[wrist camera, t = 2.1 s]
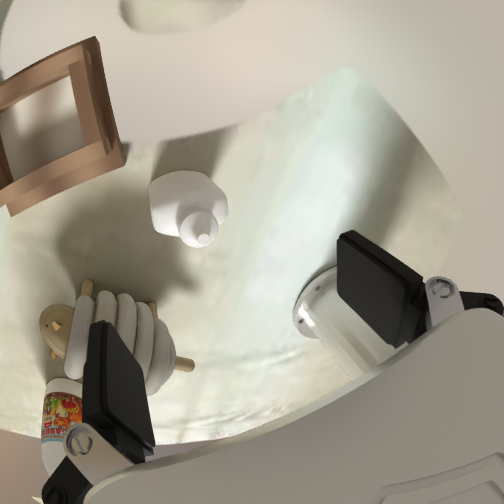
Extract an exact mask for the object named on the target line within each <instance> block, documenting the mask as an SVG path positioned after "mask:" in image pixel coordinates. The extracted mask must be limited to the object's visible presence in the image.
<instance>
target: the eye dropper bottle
mask: <svg viewBox="0 0 504 504" xmlns="http://www.w3.org/2000/svg"><path fill="white" fill-rule="evenodd" d="M149 201H150V210H151V217H152V222H153V226H154V228H155V230H156V231H157V232H159V233H162V234H165V235H170V236H179V237H180V238H181V239H182V241H183V242H184V243H185V244H186V245H188V246H190V247H194V248H200V247H204V246H206V245H208V244H210V243H211V242H212V241H213V240H214V239H215V237H216V235H217V232H218V225H220V224H221V223H222V222H223V221H225V219H226V218H227V215H228V205H227V197H226V195H225V193H224V192H223V191H222V190H221V189H220V188H219V187H218V186H217V185H216V184H215V183H214V182H213V181H212V180H211V179H210V178H209V177H208V176H206V175H205V174H203V173H201V172H196V171H187V170H183V171H175V172H171V173H167V174H165V175H162V176H160V177H158V178H157V179H155V180H154V181H152V182H151V183H150V185H149Z"/></svg>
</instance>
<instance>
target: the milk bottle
mask: <svg viewBox="0 0 504 504" xmlns="http://www.w3.org/2000/svg"><path fill="white" fill-rule="evenodd" d="M76 423H82V384H81V383H79V382H77V381H74V380H71V379H66V378H55V379H52V380H51V381H50V382H49V383H48V384H47V386H46V390H45V397H44V406H43V416H42V431H41V451H42V457H43V461H44V464H45V467H46V469H47V471H48V473H49V476H51V475H52V474H53V472H54V471H55V470H56V468H57V467H58V466H59V464H60V463H61V462H62V460H63V459H64V458H65V456H66V453H65V451H64V448H63V438H64V435H65V433H66V431H67V430H68V428H69V427H71V426H72V425H74V424H76Z"/></svg>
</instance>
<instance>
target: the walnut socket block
mask: <svg viewBox="0 0 504 504" xmlns="http://www.w3.org/2000/svg"><path fill="white" fill-rule="evenodd" d="M125 163H126V160H125V156H124V153H123V149H122V146H121V142H120V138H119V135H118V131H117V127H116V123H115V119H114V115H113V110H112V106H111V102H110V97H109V93H108V88H107V83H106V79H105V73H104V68H103V63H102V57H101V51H100V45H99V42H98V40H97V39H96V37H95V36H93V37H91V38H88V39H86V40H83V41H80V42H78V43H76V44H73V45H71V46H69V47H66V48H64V49H62V50H60V51H57V52H55V53H54V54H51V55H49V56H47V57H45V58H43V59H41V60H39V61H37V62H36V63H34V64H32V65H30V66H28V67H26V68H25V69H23V70H21V71H20V72H18V73H16V74H14V75H13V76H11V77H10V78H8V79H6V80H5V81H3V82H2V83H0V207H2V206H3V205H5V204H6V205H7V208H8V211H9V213H10V216H11V217H13V216H14V215H16V214H18V213H20V212H22V211H24V210H25V209H27V208H29V207H31V206H33V205H35V204H37V203H39V202H41V201H43V200H45V199H47V198H49V197H51V196H54V195H56V194H58V193H60V192H62V191H64V190H67V189H69V188H71V187H73V186H76V185H78V184H80V183H83V182H85V181H87V180H90V179H92V178H95V177H97V176H100V175H102V174H105V173H107V172H110V171H113V170H115V169H118V168H121V167H123V166H124V165H125Z"/></svg>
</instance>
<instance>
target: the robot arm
mask: <svg viewBox="0 0 504 504" xmlns="http://www.w3.org/2000/svg"><path fill="white" fill-rule="evenodd" d="M422 281H423V277H422V276H421V275H419V274H418V273H417V272H415V271H414V270H412V269H411V268H410V267H408V266H407V265H405V264H404V263H403V262H401V261H400V260H398V259H397V258H395V257H394V256H392V255H391V254H389V253H388V252H386V251H385V250H384V249H382V248H381V247H379V246H378V245H376V244H375V243H373V242H371V241H370V240H368V239H367V238H365V237H364V236H362V235H361V234H359V233H358V232H356V231H354V230H350V231H347V232H345V233H342V234H341V235H340V236H339V239H338V240H337V266H336V267H333V268H331V269H329V270H327V271H325V272H323V273H322V274H320V275H319V276H317V277H316V278H315V279H314V280H313V281H312V282H311V283H310V284H309V285H308V286H307V287H306V288H305V290H304V291H303V292H302V294H301V295H300V297H299V299H298V301H297V303H296V306H295V309H294V315H293V317H294V324H295V326H296V328H297V329H298V331H299V332H300V333H301V334H302V335H303V336H305V337H307V338H315V339H316V338H318V339H319V340H320V341H321V343H322V344H323V345H324V346H325V348H326V349H327V350H328V352H329V353H330V354H331V355H332V357H333V358H334V359H335V360H336V362H337V363H338V364H339V365H340V367H341V368H342V369H343V371H344V372H345V373H346V374H347V376H348V377H349V378H350V379H351V382H349V383H347V384H346V385H344V386H342V387H340V388H339V389H337V390H335V391H333V392H331V393H329V394H327V395H326V396H324V397H322V398H320V399H318V400H316V401H314V402H312V403H310V404H308V405H306V406H304V407H302V408H300V409H297V410H295V411H293V412H291V413H289V414H287V415H284V416H282V417H280V418H278V419H275V420H273V421H271V422H268V423H266V424H263V425H261V426H259V427H256V428H254V429H251V430H248V431H246V432H243V433H240V434H238V435H235V436H232V437H229V438H226V439H224V440H221V441H218V442H215V443H212V444H208V445H205V446H202V447H199V448H195V449H192V450H189V451H186V452H182V453H178V454H175V455H171V456H167V457H163V458H159V459H155V460H152V461H148V462H145V456H150V455H154V453H153V448H152V447H155V439H154V434H153V429H152V424H151V418H150V413H149V407H148V401H147V395H146V388H145V381H144V374H143V370H142V368H141V366H140V364H139V363H138V362H137V360H136V359H135V357H134V356H133V355H132V353H131V352H130V350H129V349H128V347H127V346H126V345H125V343H124V342H123V340H122V339H121V337H120V336H119V334H118V333H117V331H116V330H115V328H114V326H113V325H112V323H111V322H106V321H105V320H101V321H98V322H95V323H92V324H90V328H89V337H88V346H87V358H86V362H85V364H84V367H83V383H82V423H76V424H74V425H72V426H71V427H69V428H68V430H67V431H66V433H65V435H64V438H63V448H64V451H65V453H66V456H65V458H64V459H63V460H62V462H61V463H60V464H59V466H58V467H57V468H56V470H55V471H54V472H53V474H52V475H51V476H50V478H49V479H48V481H47V482H46V483H45V485H44V487H43V489H42V500H43V503H44V504H504V307H503V304H502V302H501V301H500V300H499V299H498V298H497V297H496V296H494V295H492V294H487V293H475V292H462V291H459V290H458V288H457V286H456V284H455V283H454V282H452V281H451V280H450V279H448V278H445V277H439V276H437V277H432V278H430V279H428V280H427V282H426V284H425V283H424V282H422Z"/></svg>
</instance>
